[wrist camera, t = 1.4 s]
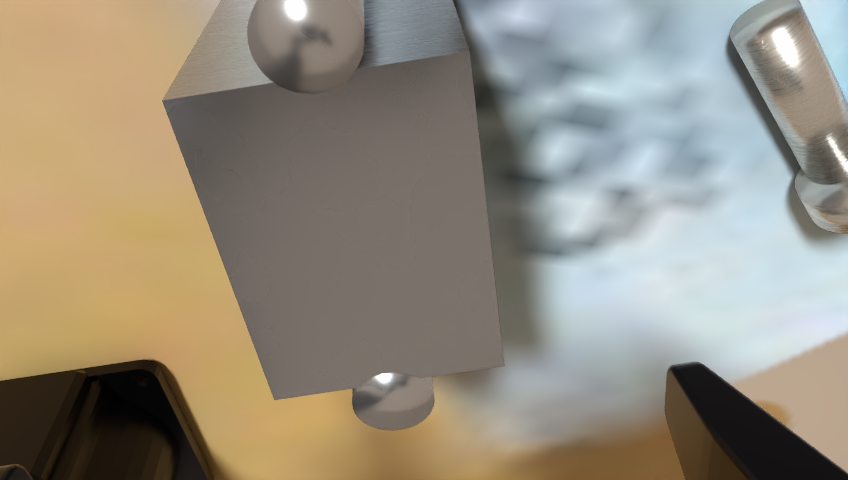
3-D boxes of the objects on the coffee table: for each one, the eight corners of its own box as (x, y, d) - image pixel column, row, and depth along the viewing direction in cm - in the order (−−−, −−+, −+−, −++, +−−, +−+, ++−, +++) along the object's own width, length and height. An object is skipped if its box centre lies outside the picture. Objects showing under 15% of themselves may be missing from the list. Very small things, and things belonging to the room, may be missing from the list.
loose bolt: (875, 145, 20) (942, 189, 18) (790, 200, 21) (844, 249, 18) (795, -25, 17) (864, 1, 15) (700, 45, 18) (752, 80, 16)
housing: (476, 258, 21) (509, 413, 16) (309, 283, 21) (291, 445, 16) (430, -112, 16) (459, -48, 11) (204, -75, 16) (127, 7, 11)
